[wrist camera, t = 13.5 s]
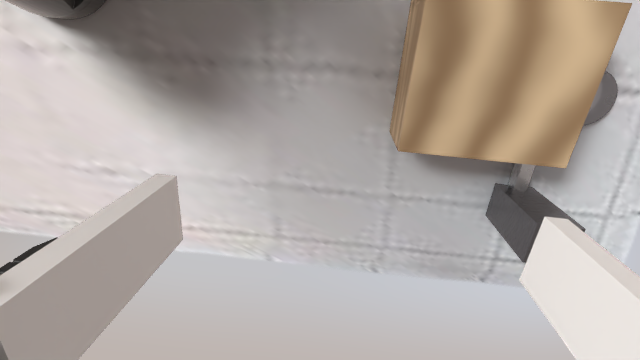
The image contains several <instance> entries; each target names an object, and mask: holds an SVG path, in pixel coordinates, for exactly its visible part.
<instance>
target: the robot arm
mask: <svg viewBox="0 0 640 360" xmlns="http://www.w3.org/2000/svg"><path fill="white" fill-rule="evenodd" d="M5 1H7V2H9V3H11V4H13V5H16V6H18V7H20V8H22V9H24V10H26V11H29V12H31V13H34V14H37V15H41V16H45V17H52V18H62V19H76V18H81V17H84V16H87V15H89V14H91V13H93V12H94V11H96V10H97V9H98V8H99V7H101V6H102V4H103V3H104V2H105V1H106V0H5ZM182 240H183V235H182V225H181V215H180V205H179V196H178V186H177V176H172V175H163V174H155V175H154V176H152V177H151V178H149V179H148V180H146V181H144V182H143V183H141V184H140V185H138V186H137V187H135V188H134V189H132V190H131V191H129V192H128V193H126V194H125V195H123V196H121V197H120V198H118V199H117V200H115V201H114V202H112V203H111V204H109V205H108V206H106V207H105V208H103V209H102V210H100V211H98V212H97V213H95V214H94V215H92V216H91V217H89V218H88V219H86V220H85V221H83V222H82V223H80V224H79V225H77V226H75V227H74V228H72V229H71V230H69V231H68V232H66V233H65V234H63V235H62V236H60V237H59V238H54V239H52V240H50V241H47V242H45V243H42V244H40V245H37V246H35V247H33V248H31V249H29V250H28V251H26V252H25V253H23V254H22V255H20V256H18V257H17V258H15V259H14V261H13V262H9V263H7V264H6V265H4V266H3V267H1V268H0V360H78V359H79V358H80V357H81V356H82V355H83V354H84V352H85V351H86V350H87V349H88V348H89V347H90V346H91V344H92V343H93V342H94V341H95V340H96V338H97V337H98V336H99V335H100V334H101V333H102V332H103V331H104V329H105V328H106V327H107V326H108V325H109V324H110V322H111V321H112V320H113V319H114V318H115V317H116V316H117V315H118V313H119V312H120V311H121V310H122V309H123V308H124V307H125V305H126V304H127V303H128V302H129V301H130V300H131V299H132V297H133V296H134V295H135V294H136V293H137V292H138V290H139V289H140V288H141V287H142V286H143V285H144V284H145V283H146V281H147V280H148V279H149V278H150V277H151V275H152V274H153V273H154V272H155V271H156V270H157V269H158V268H159V266H160V265H161V264H162V263H163V262H164V261H165V260H166V258H167V257H168V256H169V255H170V254H171V253H172V252H173V250H174V249H175V248H176V247H177V246H178V245H179V244H180V242H181V241H182ZM519 281H520V282H521V283H522V285H523V286H524V288H525V289H526V290H527V292H528V293H529V294H530V296H531V297H532V299H533V300H534V301H535V303H536V304H537V305H538V307H539V308H540V310H541V311H542V313H543V314H544V315H545V317H546V318H547V320H548V321H549V322H550V324H551V325H552V326H553V328H554V329H555V331H556V332H557V334H558V335H559V336H560V338H561V339H562V340H563V342H564V343H565V345H566V346H567V347H568V349H569V350H570V352H571V353H572V354H573V355H574V357H575V359H576V360H640V277H639V276H638V275H637V274H636V273H634V272H633V271H632V270H631V269H629V268H628V267H627V266H626V265H624V264H623V263H622V262H621V261H619V260H618V259H617V258H616V257H614V256H613V255H612V254H611V253H609V252H608V251H607V250H606V249H604V248H603V247H602V246H601V245H599V244H598V243H597V242H596V241H594V240H593V239H592V238H591V237H589V236H588V235H587V234H586V233H584V232H583V231H582V230H581V229H579V228H578V227H577V226H576V225H574V224H573V223H572V222H571V221H569V220H568V219H563V218H553V217H544V219H543V222H542V224H541V227H540V229H539V232H538V234H537V237H536V239H535V242H534V244H533V247H532V249H531V252H530V254H529V257H528V259H527V262H526V264H525V267H524V269H523V272H522V274H521V277H520V279H519Z"/></svg>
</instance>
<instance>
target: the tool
mask: <svg viewBox="0 0 640 360" xmlns="http://www.w3.org/2000/svg"><path fill="white" fill-rule="evenodd" d="M535 166H536V165H529V164H519V163H515V164H514V167H513V170H512V173H511V176H510V179H509V182H508V185H504V184H495V186H494V190H493V193H492V196H491V199H490V202H489V206H488V209H487V212H486V216H487V217H488V219H489V220H490V221H491V223H492V224H493V225H494V226H495V228H496V229H497V230H498V231H499V233H500V234H501V235H502V236H503V238H504V239H505V240H506V241H507V243H508V244H509V245H510V247H511V248H512V249H513V250H514V252H515V253H516V254H517V255H518V257H519V258H520V259H521V260H522V262H527V259H528V257H529V254H530V252H531V249H532V247H533V244H534V242H535V239H536V237H537V234H538V232H539V229H540V227H541V224H542V222H543V219H544V217H553V218H563V219H568V220H569V221H571V222H572V223H573V224H574V225H576V226H577V227H578V228H579V229H581V230H582V231H583V232H585V230H586V229H585V228H584V227H582V226H581V225H580V224H578V223H577V222H576V221H575V220H573V219H572V218H571V217H569V216H568V215H567V214H566V213H564V212H563V211H562V210H561V209H559V208H558V207H557V206H555V205H554V204H553V203H552V202H550V201H549V200H548V199H546V198H545V197H544V196H543V195H541V194H540V193H539V192H537V191H536V190H535V189H534V188H532V187H528V185H529V182H530V180H531V177H532V174H533V171H534V168H535Z"/></svg>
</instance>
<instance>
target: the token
mask: <svg viewBox="0 0 640 360" xmlns="http://www.w3.org/2000/svg"><path fill="white" fill-rule="evenodd" d="M617 91H618V90H617V83H616V81H615V79H614V77H613V76H612V75H611V74H610V73H608V72H606V71H605V72H604V75H603V77H602V80H601V82H600V85H599V87H598V90H597V92H596V95H595V97H594V100H593V102H592V104H591V107H590V109H589V112H588V114H587V117H586V119H585V122H584V124H583V126H584V125H588V124H591V123H594V122H595V121H597V120H599V119H601V118H602V117H603V116H604V115H605V114H606V113H607V112H608V111H609V110H610V109H611V107H612V106H613V104H614V102H615V100H616V97H617Z"/></svg>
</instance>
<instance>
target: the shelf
mask: <svg viewBox="0 0 640 360" xmlns="http://www.w3.org/2000/svg"><path fill="white" fill-rule="evenodd" d="M631 5H632V3H621V2H608V1H595V0H411V5H410V11H409V17H408V23H407V29H406V35H405V41H404V47H403V53H402V59H401V65H400V71H399V77H398V83H397V89H396V95H395V101H394V107H393V113H392V119H391V125H390V131H389V132H390V134H391V136H392V138H393V141H394V143H395V145H396V147H397V150H398V151H401V152H411V153H421V154H431V155H441V156H450V157H460V158H470V159H480V160H490V161H499V162H509V163H519V164H529V165H538V166H548V167H558V168H566V167H567V164H568V162H569V159H570V157H571V154H572V152H573V149H574V147H575V144H576V142H577V139H578V137H579V134H580V132H581V129H582V127H583V124H584V122H585V119H586V117H587V114H588V112H589V109H590V107H591V104H592V102H593V100H594V97H595V95H596V92H597V90H598V87H599V85H600V82H601V80H602V77H603V75H604V72H605V70H606V67H607V65H608V62H609V60H610V57H611V55H612V52H613V50H614V47H615V45H616V42H617V40H618V37H619V35H620V32H621V30H622V27H623V25H624V23H625V20H626V18H627V15H628V13H629V10H630V8H631Z"/></svg>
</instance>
